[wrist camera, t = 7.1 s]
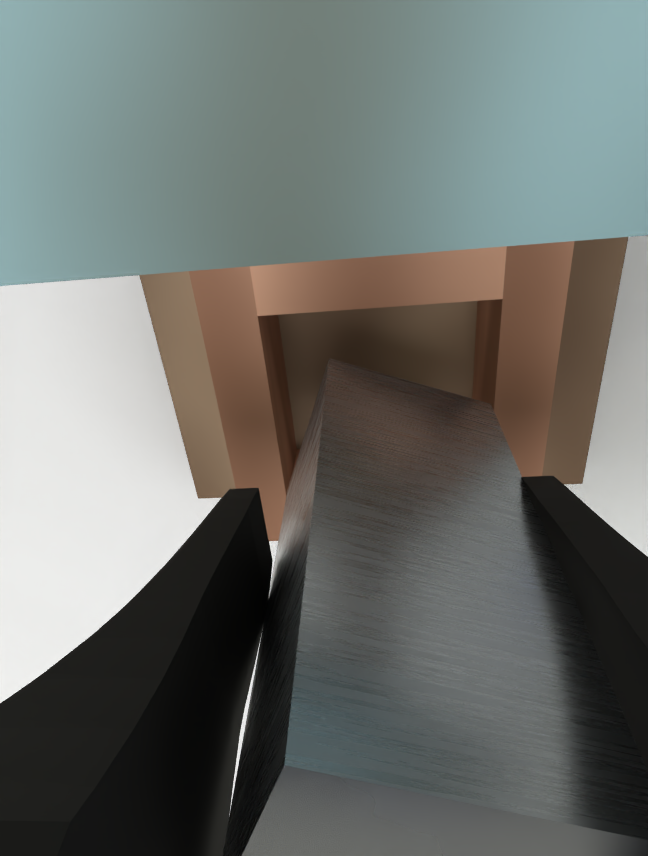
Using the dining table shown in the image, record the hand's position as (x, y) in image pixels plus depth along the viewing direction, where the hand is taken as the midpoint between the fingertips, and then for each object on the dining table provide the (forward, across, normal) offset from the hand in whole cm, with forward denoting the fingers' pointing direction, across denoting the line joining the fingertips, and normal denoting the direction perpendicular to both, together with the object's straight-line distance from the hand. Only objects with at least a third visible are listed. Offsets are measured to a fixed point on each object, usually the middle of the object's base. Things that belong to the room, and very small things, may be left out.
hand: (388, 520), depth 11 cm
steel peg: (+3, 0, 0) cm, 3 cm away
